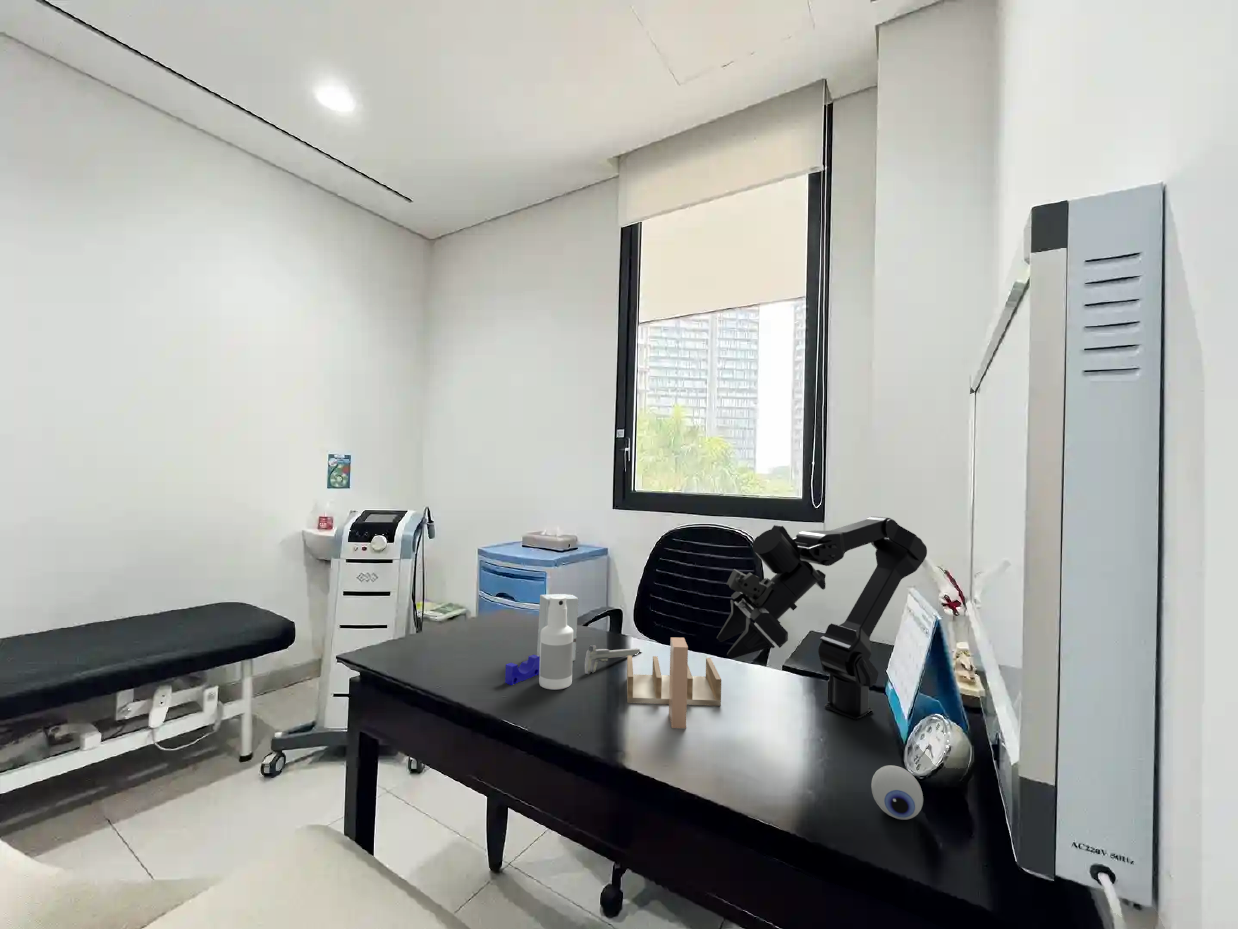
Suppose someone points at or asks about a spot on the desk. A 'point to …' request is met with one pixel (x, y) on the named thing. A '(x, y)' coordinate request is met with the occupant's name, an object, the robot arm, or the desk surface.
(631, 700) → the rack
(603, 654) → the caliper
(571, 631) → the spray bottle
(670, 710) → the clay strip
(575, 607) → the skincare box
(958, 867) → the desk surface
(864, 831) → the desk surface
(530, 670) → the cable holder
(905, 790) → the eyeball
